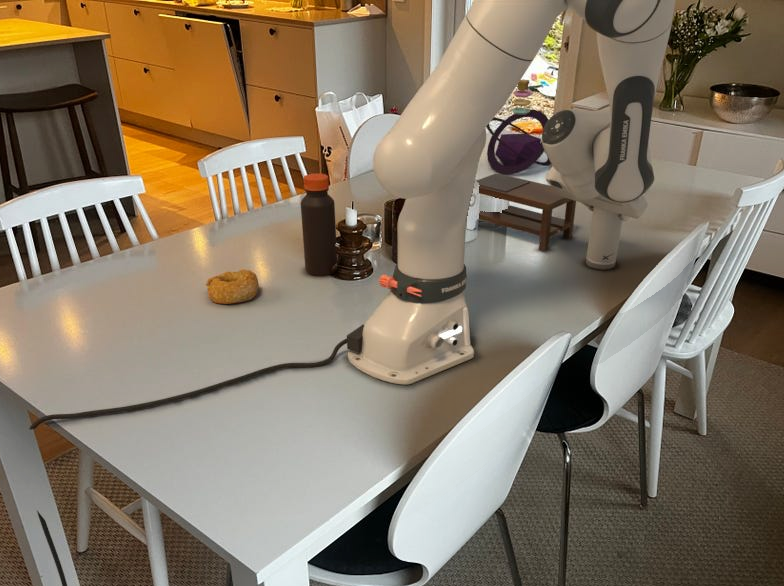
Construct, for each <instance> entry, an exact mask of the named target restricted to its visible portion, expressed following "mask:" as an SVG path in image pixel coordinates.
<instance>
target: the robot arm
mask: <svg viewBox="0 0 784 586" xmlns="http://www.w3.org/2000/svg"><path fill="white" fill-rule="evenodd" d="M470 5H471V6H470V7H469V9H468V11H467V12H466V14H465V15H464V17H463V20H462V21H461V23H460V25H459V27H458V29H457V30H456V31H455V34H454V35H453V38H452V39H451V41H450V43H449V45H448V46H447V48H446V49H445V52H444V53H443V56H442V57H441V58H440V60H439V62H438V64H437V65H436V67H434V69H433V71H432V72H431V73H430V75H429V76H428V78H427V79H426V80H425V82H423V84H422V85H421V87H419V89H418V90H417V92H416V93H415V95H414V96H413V97H412V99H411V100H410V101H409V103H408V104H407V105H406V106H405V108H404V110H403V111H402V112H401V114H400V115H399V117H397V120H396V121H395V122H394V124H393V126H392V127H391V128H390V129H389V130H388V131H387V132H386V134H385V135H384V136H383V137H382V139H380V141H378V143H377V145H376V147H375V149H374V152H373V156H372V157H373V158H372V165H373V166H372V167H373V172H374V175H375V178H376V179H377V181H378V183H379V184H380V187H382V188H383V189H384V190H385V191H386V192H387V193H388V194H390V195H392V196H394V197H396V198H399V199H405V200H404V203H403V206H402V209H401V211H400V213H399V216H398V219H397V224H396V225H397V230H396V231H397V232H396V233H397V263H396V264H395V267H394V271H393V274H392V276H389V275H387V274H382V275H381V276H380V278H379V280H378V281H379V282H378V283H379V286H380V287H382V288H386V289H388V290H389V291H388V293H387V294H386V296H385V297H384V298H383V300H382V301H380V303H379V304H378V306H377V308H376V309H375V310H374V311H373V313H372V314H371V315H370V317H368V319H367V320H366V321H365V323H364V324H361V325H360V326H358V327H357V328H356V329H354V330H353V331H351V332H350V333H348V334H347V335H346V338H344V339H342V340H341V341H340V342H338V343H337V344H336V345H335V347H334V348H333V351H331V354H330V356H328V357H327V358H326V359H323V360H321V361H316V362H286V363H280V364H276V365H271V366H269V367H265V368H262V369H261V368H260V369H258V370H255V371H252V372H250V373H246V374H244V375H240V376H238V377H237V376H236V377H234V378H231V379H228V380H224V381H222V382H219V383H216V384H212V385H210V386H206V387H203V388H200V389H196V390H192V391H189V392H185V393H182V394H177V395H174V396H170V397H166V398H162V399H156V400H152V401H148V402H142V403H137V404H132V405H126V406H119V407H112V408H104V409H94V410H87V411H81V412H74V413H56V414H55V413H53V414H48V415H44V416H41V417H40V418H37V419H36V420H35V421H33V423H32V424H31V425H30V426H29V428H28V429H29V430H31V431H32V430H35V429H36V428H37V427H39V425H41V424H43V423H45V422H48V421H51V420H71V419H79V418H86V417H94V416H102V415H109V414H117V413H123V412H129V411H130V412H131V411H134V410H139V409H140V410H141V409H145V408H151V407H155V406H159V405H165V404H168V403H172V402H177V401H180V400H184V399H188V398H191V397H196V396H199V395H202V394H205V393H209V392H211V391H215V390H218V389H221V388H224V387H226V386H230V385H233V384H237V383H239V382H240V383H241V382H242V381H246V380H248V379H251V378H254V377H257V376H260V375H262V374H267V373H269V372H273V371H277V370H281V369H287V368H288V369H289V368H317V367H322V366H325V365H327V364H330V363H332V361H334V360H335V358H336V356H337V354H338V352H339V350H340V349H341V348H342V347H343V346H345V345H346V349H347V350H349V351H348V352H347V359H348V361H349V362H350V364H351V365H352V366H353V367H355V368H356V369H358V370H359V371H361V372H363V373H365V374H367V375H368V376H371V377H373V378H375V379H378V380H381V381H383V382H387V383H391V384H396V385H404V386H405V385H411V384H414V383H416V382H419V381H421V380H423V379H424V380H425V379H426V378H428V377H431V376H433V375H436V374H439V373H441V372H444V371H445V370H448V369H450V368H452V367H455V366H458V365H460V364H463V363H465V362H467V361H470V360H472V359H473V358H475V349H474V347H473V346H472V344H471V333H470V320H469V317H470V316H469V315H470V314H469V308H468V305H467V302H466V297H465V290H466V287H467V280H468V274H467V266H466V264H465V253H466V251H465V250H466V235H467V233H466V232H467V216H468V210H469V206H470V201H471V197H472V193H473V188H474V183H475V181H476V177H477V172H478V168H479V163H480V160H481V156H482V154H483V152H484V149H485V146H486V143H487V128H486V126H487V125H488V124H489V125H490V123H491V122H492V121H491V120H492V119H493V118H494V117H496V116H497V115H498V114H499V112H500V111H501V110H502V109H503V108H504V106H505V105H506V103H507V101H508V100H509V98H510V97H511V95H512V94H513V92H514V91H515V89H517V87H518V83H519V81H520V80H522V79H523V77H524V75H525V74H526V72H527V70H528V69H529V67H530V66H531V65H532V63H533V62H534V60H535V58H536V56H537V55H538V53H539V51H540V50H541V48H542V46H543V45H544V43H545V41H546V39H547V37H548V36H549V34H550V31H551V29H552V28H553V26H554V24H555V21H556V19H557V18H558V17H559V16H561V14H563V13H564V12H566V10H568V9H570V10H571V11H572V12H574V13H575V14H576V15H577V16H578V17H580V18H581V19H582V20H584V21H585V22H586V24H587V26H588V27H589V28H590V29H592V30H593V31H594V32H596V43H597V50H598V56H599V61H600V66H601V71H602V75H603V78H604V79H603V80H604V84H605V88H606V93H607V94H606V95H607V98H608V104H605V105H603V106H600V107H599V108H597V109H595V110H590V111H580V110H579V111H578V110H576V109H570V108H569V109H568V108H567V109H562V110H559V111H557V112H556V113H554V114H553V115H552V116H551V117H550V118H548V121H547V123H546V124H545V126H544V129H542V132H541V141H542V145H543V148H544V150H545V152H544V153H545V155H546V157H547V156H548V157H547V159H548V158H549V160H550V162H551V168H550V169H549V171H548V173H547V175H546V178H545V181H546V182H547V184H548V185H550V186H552V188H553V189H554V191H555V192H556V193H557V194H558V195H560V196H562V197H564V198H568V199H571V200H574V201H576V202H578V203H581V204H582V205H584V206H585V207H587V209H588V210H589V211H590V212H593V209H594V206H595V207H598V208H601V209H605V210H608V211H612V212H615V213H618V217H619V219H620V220H623V221H624V222H628V220H629V218H632V219H635V220H638V219H640V218H641V217H642V216H643V215H644V213H645V211H646V209H647V208H648V205H649V204H648V201H647V199H646V198H645V196H644V194H645V193H646V192H647V191H648V190H649V189H650V188H651V186H652V185H653V184H654V182H655V174H654V169H653V166H652V159H651V151H650V144H649V141H650V133H651V126H652V125H651V124H652V116H653V110H654V103H655V98H656V95H657V91H658V86H659V80H660V76H661V71H662V68H663V64H664V59H665V55H666V52H667V47H668V42H669V40H670V34H671V30H672V26H673V21H674V15H675V8H676V0H473V2H472V3H471V4H470ZM623 221H622V222H623ZM36 513H37V516H38V520H39V523H40V525H41V528H42V530H43V534H44V537H45V539H46V541H47V544H48V547H49V550H50V552H51V555H52V558H53V561H54V565H55V567H56V569H57V573H58V576H59V580H60V582H61V586H68V583H67V579H66V576H65V573H64V570H63V566H62V563H61V561H60V558H59V555H58V551H57V549H56V547H55V543H54V541H53V537H52V536H51V533H50V530H49V526H48V525H47V521H46V519H45V517H44V516H43V515H42V514H41V513H40V512H39V510H36Z"/></svg>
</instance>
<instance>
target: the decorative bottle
mask: <svg viewBox="0 0 784 586" xmlns="http://www.w3.org/2000/svg"><path fill="white" fill-rule="evenodd" d="M529 85H530V80H529V79H524V78H522V79H521V80H520V81H519V83H518V84H517V86H516V89H517V90H514V91H513V92H512V94H513V96H515V97H516V98H519V99H513V100H512V103H513V104H514V106H516V107H513V108H512V109H511V112H513V114H512V115H509V116H508V117H507V118H506V119H502V118H499V117H496V116H495V117H494V118H493V119H492V120H491V121H490V122H492V121H496V122H500V123H499V125H498V127H497V128H496V129H495V130H494V131H493V130H492V128H491V125H490V123H489V124H488V125H487V126H486V128H485V129H486V130H487V131H488V132H489V134H490V135H491V137H490V139H489V142H488V145H487V151H486V156H487V162H488V164H489V166H490V168H491V169H492V170H494V172H496V173H497V174H503V175H514V174H519V173H521V172H523V171H525V170H527V169H529V168H530V167H531V166H532V165H534V164H535V165H538V166H544V167H547V166H552V164H551V162H550V160H549V158H548V156H547V155H546V157H547V158H546V161H538V160H539V159H540V157H542V155H543V154H544V153H545V150H544V148H543V145H542V138H539V137H537V136H534V135H535V134H533V135H531V134H529V133H528V132H527V131H526V130H523V129H522V128H521V127H520V126H517V125H515V124H514V123H513V122H515V121H517V120H519V119H522V118H532V119H535V120H537V122H539V124H540V126H541V128H542V130H543V129H544V126H545V124H546V123H547V121H548V120H549V118H548V117H547V114H545V113H544V112H542V111H541V110H537V109H532V108H531V109H530V108H526V107H527V106H529V105H531V103H532V101H531V100H529V99H524V98H529V97H530V96H532V94H533V93H532V91H528V90H529ZM509 126H511V127H513V128H514V129H517V131H520V132H521V133H503V134H502V132H503V131H504V130H505V128H507V127H509ZM497 142H498V143H497ZM496 143H497V147H496ZM497 158H498V159H497ZM498 160H499V161H498Z"/></svg>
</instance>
